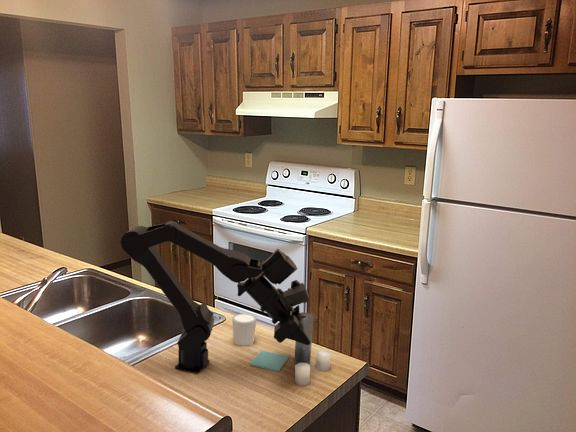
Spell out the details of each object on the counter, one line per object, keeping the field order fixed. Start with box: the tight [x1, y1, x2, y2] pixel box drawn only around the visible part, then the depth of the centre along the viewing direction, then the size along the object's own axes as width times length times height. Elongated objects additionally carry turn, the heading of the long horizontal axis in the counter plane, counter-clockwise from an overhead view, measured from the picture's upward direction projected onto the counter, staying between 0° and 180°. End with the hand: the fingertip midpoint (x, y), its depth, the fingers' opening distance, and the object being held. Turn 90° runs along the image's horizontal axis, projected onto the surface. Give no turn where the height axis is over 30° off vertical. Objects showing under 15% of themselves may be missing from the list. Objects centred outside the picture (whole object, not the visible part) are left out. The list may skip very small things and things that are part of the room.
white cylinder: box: [231, 313, 257, 347], centre depth 137 cm, size 7×7×7 cm
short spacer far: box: [315, 349, 332, 372], centre depth 124 cm, size 4×4×4 cm
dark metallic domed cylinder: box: [293, 311, 314, 366], centre depth 121 cm, size 4×4×13 cm
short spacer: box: [294, 363, 311, 387], centre depth 117 cm, size 4×4×4 cm
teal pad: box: [249, 350, 290, 372], centre depth 127 cm, size 8×8×1 cm
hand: (309, 339), depth 121 cm, fingers closed on dark metallic domed cylinder, 4 cm apart
